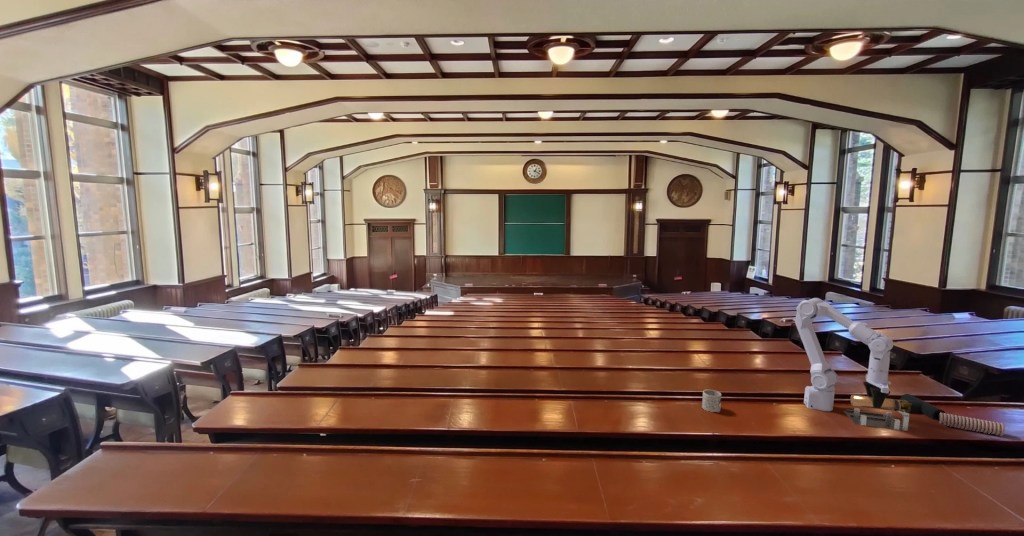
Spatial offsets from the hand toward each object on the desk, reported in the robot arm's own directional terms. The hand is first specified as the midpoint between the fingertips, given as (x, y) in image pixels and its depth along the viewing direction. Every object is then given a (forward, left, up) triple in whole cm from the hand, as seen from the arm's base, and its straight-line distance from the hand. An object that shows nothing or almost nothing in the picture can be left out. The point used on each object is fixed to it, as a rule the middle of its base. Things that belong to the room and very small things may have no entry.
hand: (874, 404), depth 171 cm
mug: (-56, -2, -8) cm, 56 cm away
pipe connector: (+20, +18, -8) cm, 28 cm away
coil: (+32, +8, -8) cm, 34 cm away
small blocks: (+1, 0, -8) cm, 8 cm away
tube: (0, 0, -1) cm, 1 cm away
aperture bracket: (+8, -1, -7) cm, 11 cm away
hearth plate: (+1, +3, -8) cm, 8 cm away
